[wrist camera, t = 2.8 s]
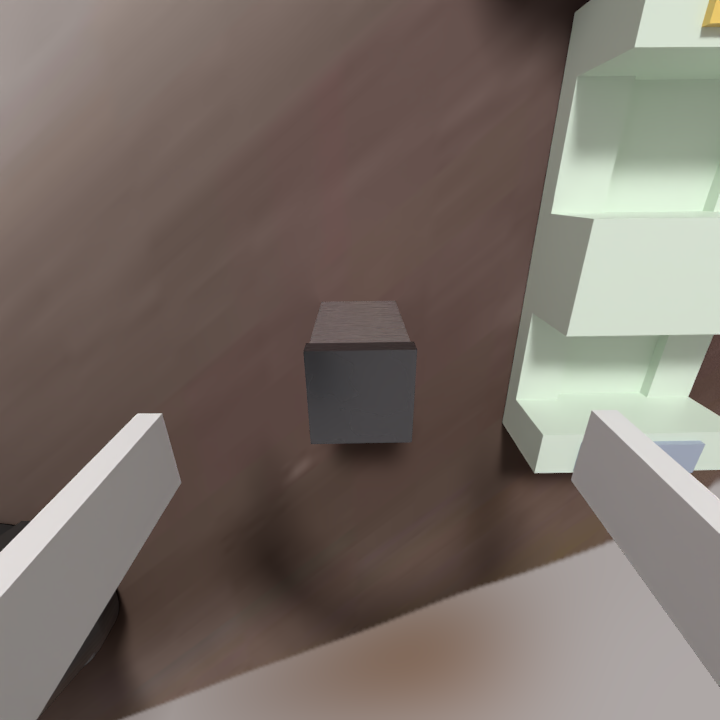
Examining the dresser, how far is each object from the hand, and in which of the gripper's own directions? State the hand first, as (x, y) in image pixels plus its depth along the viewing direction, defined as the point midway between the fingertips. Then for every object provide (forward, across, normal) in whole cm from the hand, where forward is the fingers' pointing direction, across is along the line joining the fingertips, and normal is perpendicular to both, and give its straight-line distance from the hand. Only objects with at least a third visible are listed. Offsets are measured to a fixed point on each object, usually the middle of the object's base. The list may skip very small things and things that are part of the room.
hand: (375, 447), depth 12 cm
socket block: (+10, +13, +4) cm, 17 cm away
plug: (+10, -1, 0) cm, 10 cm away
